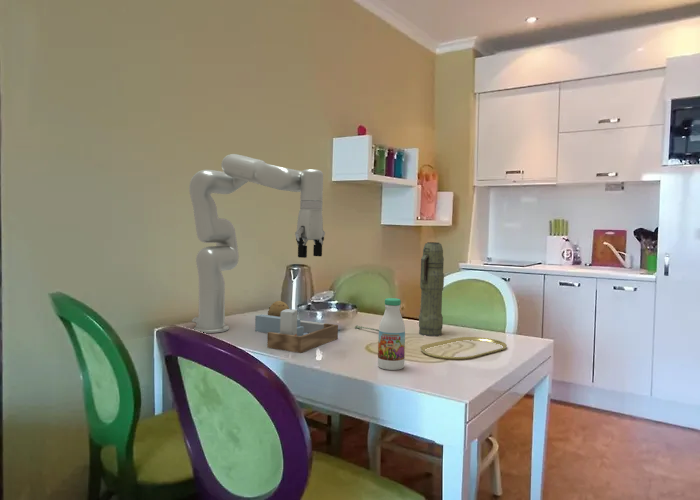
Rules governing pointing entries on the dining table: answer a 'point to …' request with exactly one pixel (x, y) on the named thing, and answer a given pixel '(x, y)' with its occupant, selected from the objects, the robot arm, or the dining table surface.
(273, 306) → the natural sponge
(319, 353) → the dining table surface
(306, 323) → the grey plastic stick
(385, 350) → the milk bottle
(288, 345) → the wooden u-shaped tray
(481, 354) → the serving platter
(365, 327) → the soupspoon
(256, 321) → the crook
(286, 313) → the skincare box
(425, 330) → the thermos
